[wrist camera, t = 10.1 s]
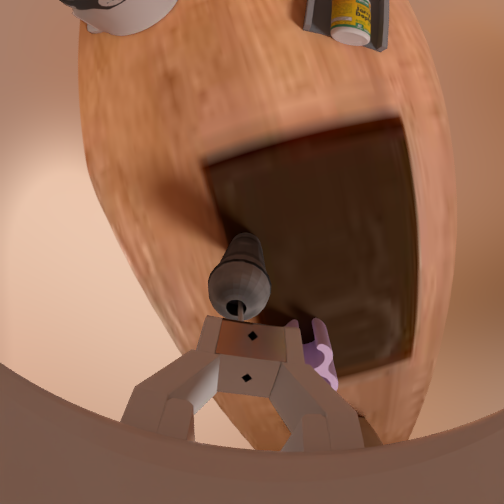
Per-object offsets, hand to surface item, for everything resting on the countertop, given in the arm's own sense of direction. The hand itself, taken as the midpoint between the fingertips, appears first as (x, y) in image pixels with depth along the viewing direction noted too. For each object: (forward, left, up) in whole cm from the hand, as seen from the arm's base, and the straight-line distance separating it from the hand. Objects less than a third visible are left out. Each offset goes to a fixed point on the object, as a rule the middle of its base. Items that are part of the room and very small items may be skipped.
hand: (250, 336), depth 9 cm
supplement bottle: (-14, +18, -28) cm, 36 cm away
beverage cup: (+9, -6, -31) cm, 33 cm away
